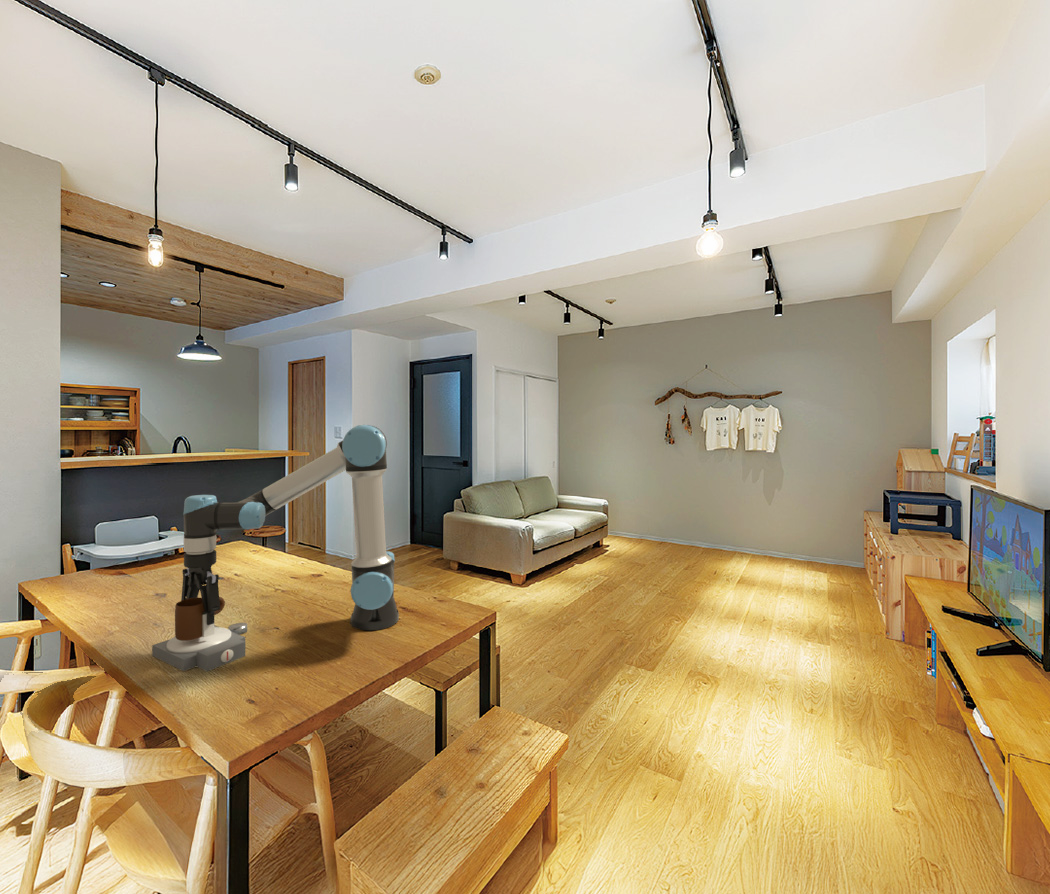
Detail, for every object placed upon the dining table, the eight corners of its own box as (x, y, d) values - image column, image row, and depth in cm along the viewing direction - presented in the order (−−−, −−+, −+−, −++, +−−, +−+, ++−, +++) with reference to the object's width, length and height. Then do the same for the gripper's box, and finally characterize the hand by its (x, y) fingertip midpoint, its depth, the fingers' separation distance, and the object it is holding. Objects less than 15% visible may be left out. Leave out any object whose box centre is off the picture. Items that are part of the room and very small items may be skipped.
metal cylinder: (250, 629, 150) (250, 622, 150) (240, 635, 145) (240, 628, 145) (235, 628, 151) (235, 622, 151) (224, 635, 146) (224, 628, 146)
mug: (219, 622, 141) (219, 591, 141) (230, 629, 137) (230, 597, 136) (170, 636, 132) (170, 602, 131) (180, 644, 127) (180, 609, 127)
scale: (256, 651, 135) (256, 638, 135) (195, 676, 121) (195, 661, 121) (213, 634, 145) (213, 621, 145) (152, 655, 131) (152, 641, 131)
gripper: (235, 553, 132) (235, 635, 133) (194, 543, 142) (194, 619, 142) (206, 559, 125) (206, 645, 126) (165, 548, 135) (166, 628, 136)
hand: (200, 631), depth 134 cm, fingers closed on mug, 7 cm apart
